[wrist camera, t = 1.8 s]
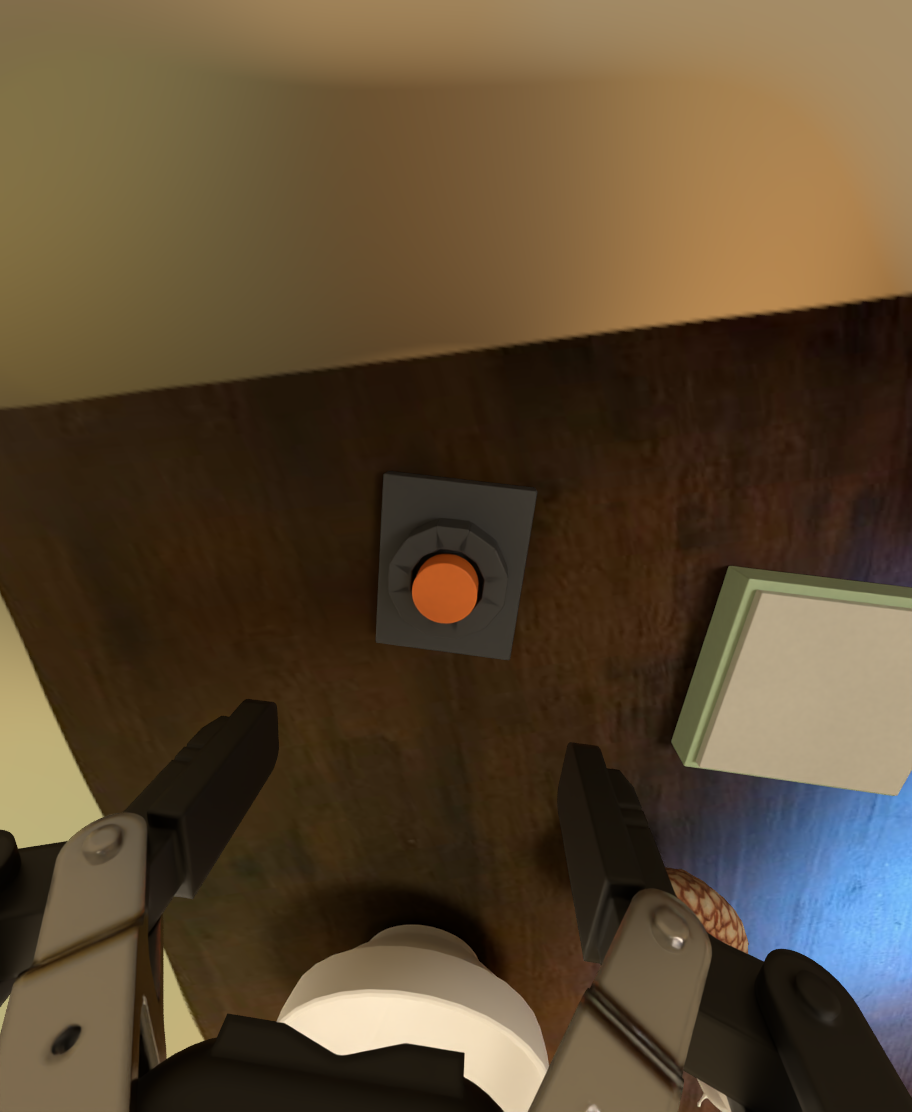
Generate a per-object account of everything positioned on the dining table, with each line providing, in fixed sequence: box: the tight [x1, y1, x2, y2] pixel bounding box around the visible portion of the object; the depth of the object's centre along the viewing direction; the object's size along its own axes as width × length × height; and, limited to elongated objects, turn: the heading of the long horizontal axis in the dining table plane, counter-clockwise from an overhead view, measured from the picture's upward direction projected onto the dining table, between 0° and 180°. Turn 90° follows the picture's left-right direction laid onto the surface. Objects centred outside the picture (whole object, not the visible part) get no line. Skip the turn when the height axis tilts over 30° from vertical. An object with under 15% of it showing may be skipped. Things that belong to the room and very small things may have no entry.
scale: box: [671, 566, 912, 796], centre depth 24 cm, size 12×12×2 cm
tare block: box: [376, 471, 537, 660], centre depth 23 cm, size 10×8×3 cm
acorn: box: [665, 867, 749, 954], centre depth 25 cm, size 8×8×10 cm
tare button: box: [412, 554, 478, 623], centre depth 21 cm, size 3×3×2 cm
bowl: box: [277, 925, 549, 1112], centre depth 32 cm, size 20×20×7 cm
